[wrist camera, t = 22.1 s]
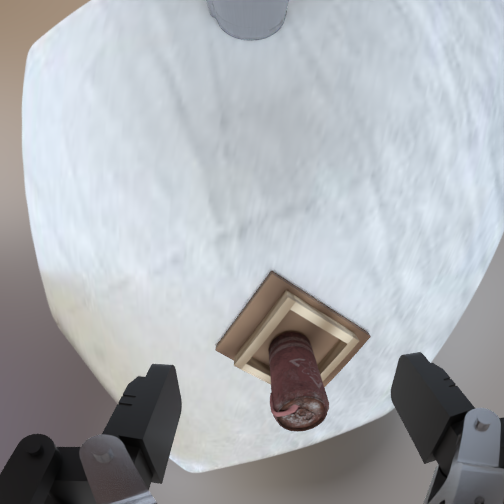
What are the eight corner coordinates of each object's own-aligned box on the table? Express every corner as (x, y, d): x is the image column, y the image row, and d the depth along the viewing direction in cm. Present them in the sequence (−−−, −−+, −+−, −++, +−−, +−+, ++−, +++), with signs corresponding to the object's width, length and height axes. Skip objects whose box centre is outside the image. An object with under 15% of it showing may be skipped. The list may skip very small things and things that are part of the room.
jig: (216, 345, 43) (213, 359, 40) (271, 270, 40) (273, 280, 37) (311, 394, 46) (314, 409, 42) (368, 332, 43) (376, 344, 39)
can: (265, 331, 41) (269, 398, 28) (311, 328, 41) (333, 392, 28) (267, 366, 43) (271, 436, 29) (310, 363, 43) (328, 430, 29)
